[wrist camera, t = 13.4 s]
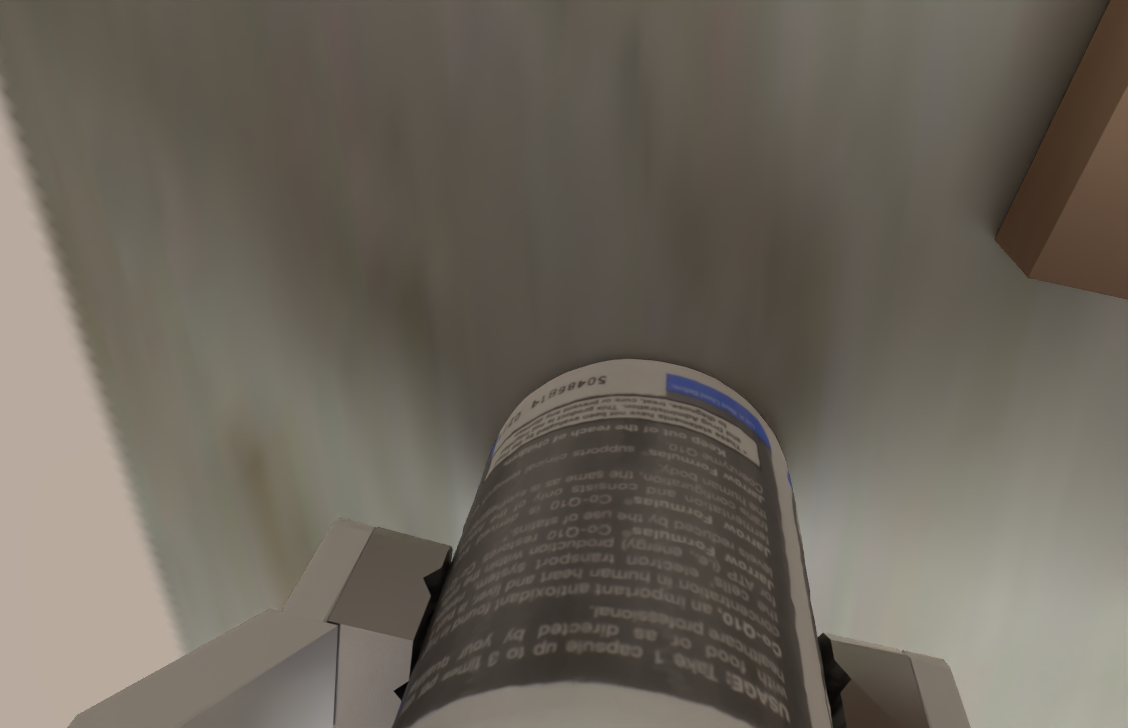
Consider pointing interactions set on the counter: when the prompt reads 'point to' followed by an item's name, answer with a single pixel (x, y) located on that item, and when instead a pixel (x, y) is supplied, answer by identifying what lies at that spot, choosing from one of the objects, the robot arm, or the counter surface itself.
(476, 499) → the pill bottle
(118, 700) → the robot arm
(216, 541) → the counter surface
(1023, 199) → the board
